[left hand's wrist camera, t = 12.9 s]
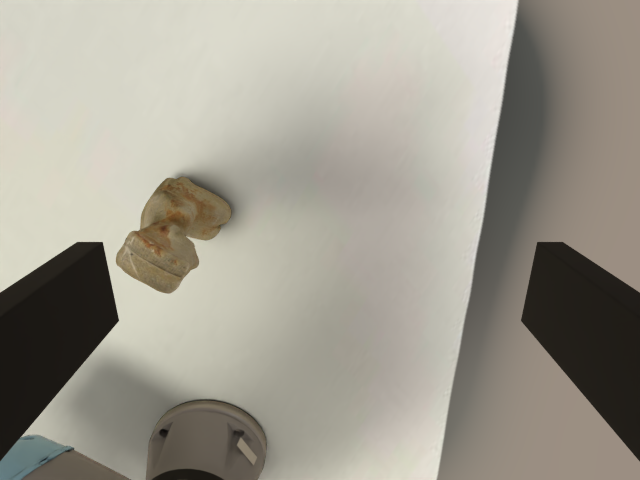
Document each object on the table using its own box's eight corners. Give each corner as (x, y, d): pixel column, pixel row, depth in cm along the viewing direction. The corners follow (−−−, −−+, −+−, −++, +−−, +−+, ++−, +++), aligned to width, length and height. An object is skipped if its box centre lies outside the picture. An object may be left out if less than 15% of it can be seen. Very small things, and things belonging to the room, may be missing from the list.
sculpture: (210, 242, 45) (160, 315, 31) (153, 201, 43) (73, 259, 29) (241, 203, 43) (204, 262, 29) (184, 159, 41) (115, 198, 27)
